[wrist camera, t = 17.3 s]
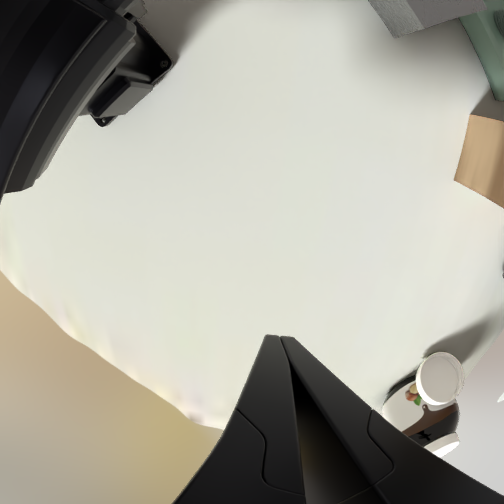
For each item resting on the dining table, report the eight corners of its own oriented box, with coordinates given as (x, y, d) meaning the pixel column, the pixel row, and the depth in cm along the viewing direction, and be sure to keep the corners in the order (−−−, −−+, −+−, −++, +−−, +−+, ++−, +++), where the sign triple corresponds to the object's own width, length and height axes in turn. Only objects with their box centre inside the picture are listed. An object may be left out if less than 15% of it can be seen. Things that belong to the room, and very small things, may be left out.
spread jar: (382, 412, 35) (401, 476, 25) (367, 381, 30) (393, 463, 20) (450, 376, 32) (479, 435, 22) (451, 336, 28) (493, 408, 17)
